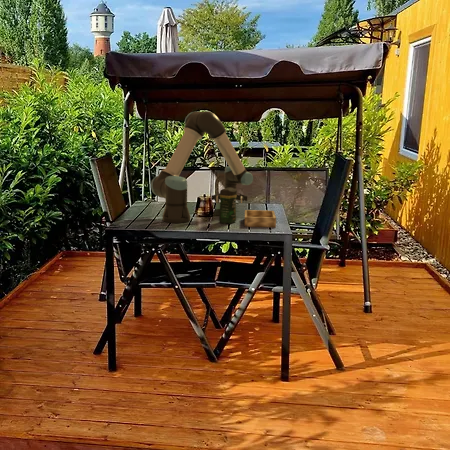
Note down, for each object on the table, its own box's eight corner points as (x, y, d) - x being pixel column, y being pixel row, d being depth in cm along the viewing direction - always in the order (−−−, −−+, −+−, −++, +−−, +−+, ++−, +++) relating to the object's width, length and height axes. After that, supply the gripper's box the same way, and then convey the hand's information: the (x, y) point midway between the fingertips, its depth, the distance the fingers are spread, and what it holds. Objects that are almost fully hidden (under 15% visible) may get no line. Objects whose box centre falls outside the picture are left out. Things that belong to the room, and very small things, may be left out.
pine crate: (244, 226, 241) (244, 217, 240) (244, 218, 261) (244, 210, 260) (275, 227, 241) (276, 217, 240) (273, 219, 260) (273, 210, 259)
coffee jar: (230, 224, 245) (231, 189, 241) (217, 223, 249) (217, 188, 245) (238, 221, 254) (239, 187, 250) (225, 219, 257) (225, 186, 253)
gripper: (250, 201, 279) (251, 207, 258) (209, 200, 280) (206, 206, 259) (251, 188, 278) (251, 193, 257) (209, 187, 278) (206, 193, 258)
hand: (229, 200), depth 258 cm, fingers open, 13 cm apart
